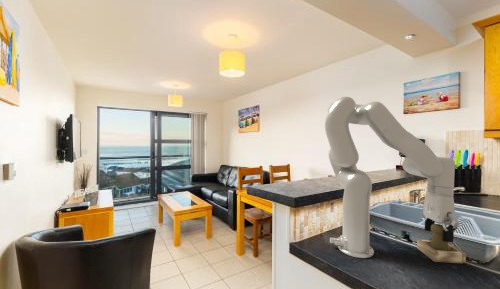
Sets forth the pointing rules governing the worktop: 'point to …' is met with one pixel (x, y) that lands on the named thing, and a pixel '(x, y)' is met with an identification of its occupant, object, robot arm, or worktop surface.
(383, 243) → the worktop surface
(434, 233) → the cork
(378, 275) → the worktop surface
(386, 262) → the worktop surface
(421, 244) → the socket block
